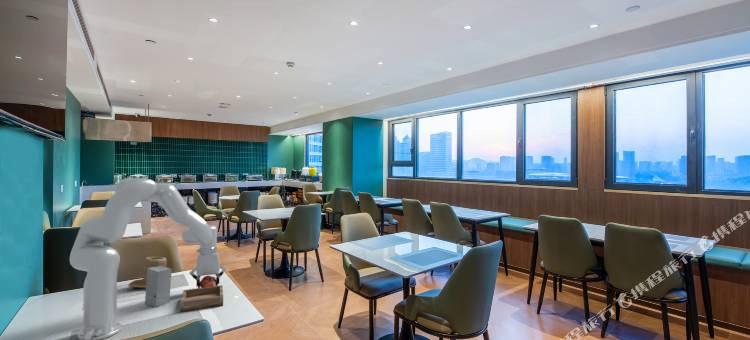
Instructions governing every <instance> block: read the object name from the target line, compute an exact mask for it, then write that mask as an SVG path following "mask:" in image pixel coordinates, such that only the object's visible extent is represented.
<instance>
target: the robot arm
mask: <svg viewBox="0 0 750 340" xmlns="http://www.w3.org/2000/svg"><path fill="white" fill-rule="evenodd" d="M140 202H148V203H149V202H150V203H159V205H160V206H161V207H162V209H163V210H164V211H165V212H166V214H167V216H168V217H169V219H171V220H172V221H174V222H175V223H178V224H180V225H183V226H185V227H186V229H184V230H183V232H181V233H182V234H181V239H182V241H183V242H185V243H186V244H192V245H199V248H196V253H199V254H197V259H196V266H195V267H194V268H193V269H191V270H190V271H189V275H190V276H191V277H192V278H193V279H194V280H195V281H196V287H197V288H201V287H200V281H201V277H202V276H212V275H215V279H216V286H219V284H220V278H221V277H222V275H224V273H225V272H226V270H227V268H226V267H225V266H223V265H222V264H220V256H219V252H218V251H217V249H218V248H217V247H218V245H217V243H218V240H217V239H218V236H217V235H218V229H217V226H216V225H209V224H208V222H207V221H206V220H205V219H204V218H203V217H202V216H200V215H199V214H198V213H197V212H195V211H193V210H192V209H191V208H190V207H189V206H188V204H187V202H186V201H185V200H184V198H183V196H182V195H181V193H180V192H179V190H178V189H177V187H176V186H175V185H173V184H172V183H167V182H166V183H165V182H155V181H154V180H152V179H149V178H144V177H143V178H142V177H140V178H139V177H138V178H135V177H133V178H131V177H130V178H129V177H127V178H123V179H121V180H119V182H117V184H116V185H115V192H114V193H113V194H112V195H111V197H110V198H109V199H108V201H107V203H106V205H105V208H104V209H103V212H102V214H101V215H96V216H92V217H90V218H88V219H87V220H85V221H84V223H82V225H81V226H80V228H79V230H78V233H77V235H76V238H75V240H74V244H73V246H72V248H71V251H70V254H69V263H70V266H72V268H73V269H75V270H78V271H83V272H86V273H87V274H86V276H85V278H84V282H83V292H82V293H83V317H82V318H83V322H82V323H83V325H82V327H83V328H82V329H83V330H81V331H79V332H78V334H77V339H78V340H102V339H105V338H109V337H111V336H113V335H116V334H117V333H119V332H121V331H122V329H123V325H122V323H120V322H118V318H117V317H118V313H117V312H118V311H117V310H118V307H117V305H118V296H117V295H118V272H119V266H120V262H121V256H120V254H119V252H118V251H117V249H115V248H113V247H110V246H107V245H104V243H109V244H110V243H111V244H112V243H116V242H119V241H120V240H121V239H122V238H123V237H124V235H125V233H126V229H127V227H128V225H129V221H130V218H131V215H132V213H133V211H134V209H135V207H137V205H138V204H139V203H140ZM220 269H221V271H220ZM195 272H196V274H195Z"/></svg>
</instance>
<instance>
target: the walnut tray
mask: <svg viewBox="0 0 750 340" xmlns="http://www.w3.org/2000/svg"><path fill="white" fill-rule="evenodd" d="M179 303H180V305H179V306H180V313H184V312H190V311H196V310H198V311H199V310H203V309H209V308H217V307H223V306H224V287H223V285H218V286H213V287H205V288H201V287H200V288H198V287H197V288H192V289H190V288H189V289H183V292H182V296H181V299H180V302H179Z"/></svg>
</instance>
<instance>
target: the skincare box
mask: <svg viewBox="0 0 750 340" xmlns="http://www.w3.org/2000/svg"><path fill="white" fill-rule="evenodd" d="M171 282H172V268H170V267H168V266H166V267H164V266H157V267H152V268H148V269H147V283H146V288H145V296H144V297H145V298H144V305H149V306H151V307H154V308H158V307H160V306H164V305H166V304H169V303H170V298H171V286H172V285H171V284H172V283H171Z"/></svg>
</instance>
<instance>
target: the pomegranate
mask: <svg viewBox="0 0 750 340" xmlns="http://www.w3.org/2000/svg"><path fill="white" fill-rule="evenodd" d="M213 286H216V276H215V277H214V276H212V275H205V276H204V277H203V278H202V279H200V288H205V287H213Z"/></svg>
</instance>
